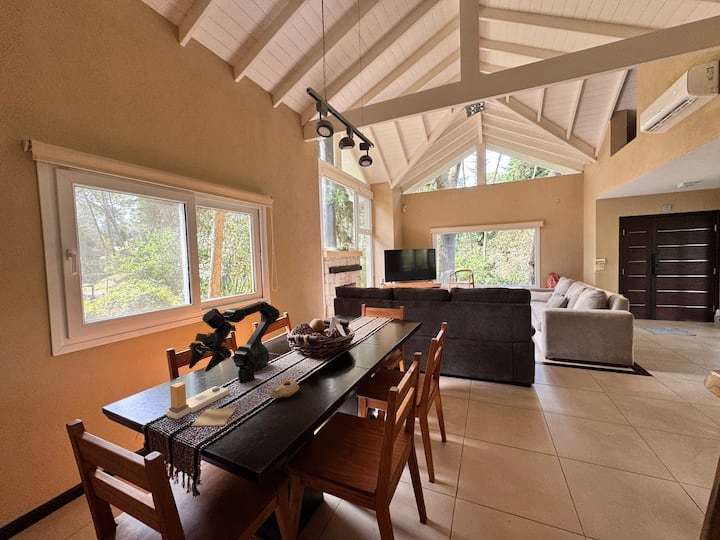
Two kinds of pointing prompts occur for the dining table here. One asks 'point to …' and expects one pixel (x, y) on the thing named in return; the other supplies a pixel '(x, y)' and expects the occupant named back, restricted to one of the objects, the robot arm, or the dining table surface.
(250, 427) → the dining table surface
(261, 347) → the squash
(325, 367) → the dining table surface
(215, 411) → the cork mat
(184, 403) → the tan tall block
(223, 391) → the power strip
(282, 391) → the pottery oil lamp
